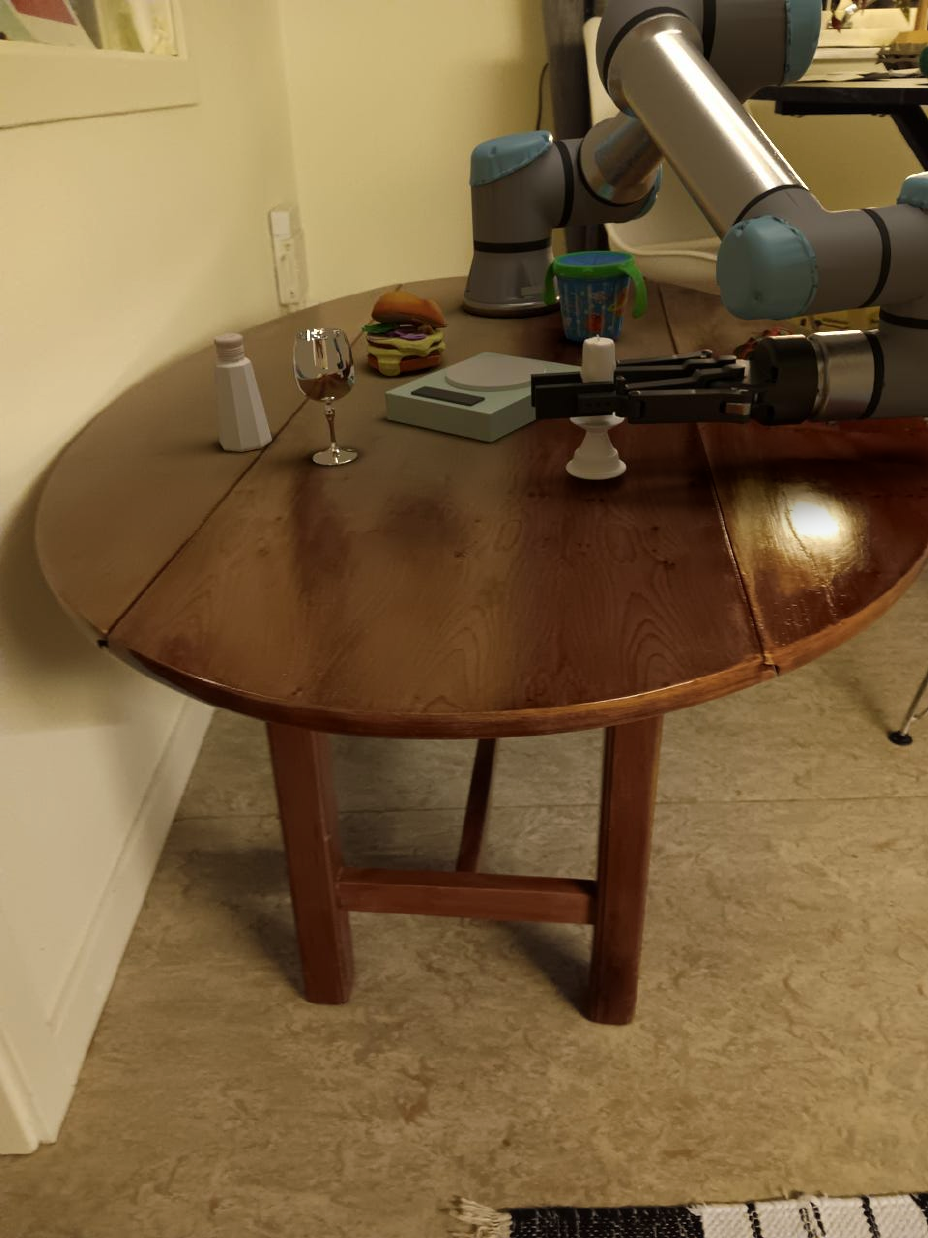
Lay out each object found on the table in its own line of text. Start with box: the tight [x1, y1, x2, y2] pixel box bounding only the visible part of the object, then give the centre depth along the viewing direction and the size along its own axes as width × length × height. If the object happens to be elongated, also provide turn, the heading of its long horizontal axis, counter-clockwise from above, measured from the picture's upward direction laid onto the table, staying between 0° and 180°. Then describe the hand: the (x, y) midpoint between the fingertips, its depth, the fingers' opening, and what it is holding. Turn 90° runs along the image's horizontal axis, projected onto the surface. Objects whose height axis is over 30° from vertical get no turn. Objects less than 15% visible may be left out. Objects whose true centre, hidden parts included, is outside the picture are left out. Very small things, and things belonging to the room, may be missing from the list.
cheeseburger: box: [361, 290, 449, 377], centre depth 119 cm, size 10×11×10 cm
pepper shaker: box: [213, 332, 273, 453], centre depth 96 cm, size 5×5×11 cm
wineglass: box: [292, 327, 359, 466], centre depth 91 cm, size 6×6×12 cm
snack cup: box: [542, 250, 648, 343], centre depth 125 cm, size 16×10×10 cm
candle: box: [565, 335, 627, 481], centre depth 82 cm, size 5×5×12 cm
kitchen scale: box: [384, 351, 582, 443], centre depth 104 cm, size 18×14×4 cm
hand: (534, 396), depth 82 cm, fingers closed on candle, 2 cm apart
